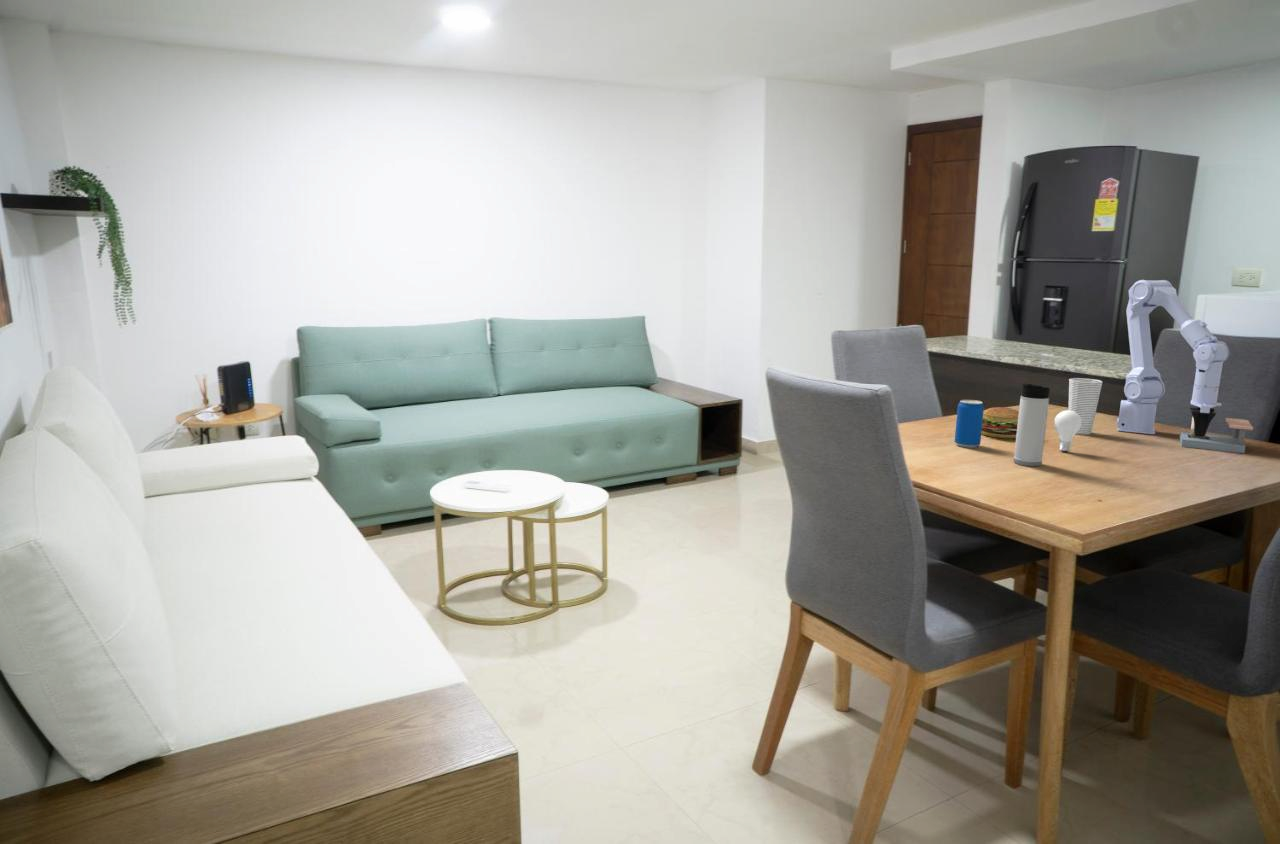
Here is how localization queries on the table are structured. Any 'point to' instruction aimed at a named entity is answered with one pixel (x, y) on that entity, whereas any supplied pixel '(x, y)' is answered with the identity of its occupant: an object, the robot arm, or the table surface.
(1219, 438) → the socket station
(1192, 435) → the peg
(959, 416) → the beverage can
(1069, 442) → the lightbulb
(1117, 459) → the table surface
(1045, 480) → the table surface
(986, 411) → the food
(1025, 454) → the travel mug
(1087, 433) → the cup
